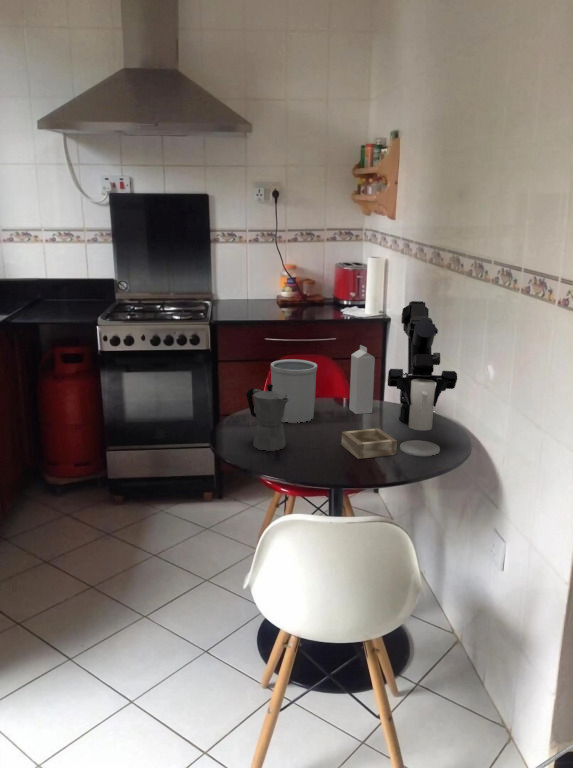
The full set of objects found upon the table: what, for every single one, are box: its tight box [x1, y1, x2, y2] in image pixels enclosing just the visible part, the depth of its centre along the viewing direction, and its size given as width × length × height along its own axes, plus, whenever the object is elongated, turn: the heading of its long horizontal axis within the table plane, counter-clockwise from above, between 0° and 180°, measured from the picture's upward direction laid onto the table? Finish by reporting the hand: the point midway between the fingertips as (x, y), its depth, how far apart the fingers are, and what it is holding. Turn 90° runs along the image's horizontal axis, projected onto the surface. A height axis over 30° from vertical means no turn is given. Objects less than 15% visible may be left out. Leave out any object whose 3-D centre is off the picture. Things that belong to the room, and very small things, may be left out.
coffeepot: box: [245, 383, 289, 452], centre depth 188 cm, size 15×9×18 cm, turn 49°
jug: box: [408, 379, 436, 431], centre depth 183 cm, size 9×6×13 cm
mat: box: [399, 439, 441, 457], centre depth 188 cm, size 11×11×1 cm
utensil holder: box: [270, 358, 318, 424], centre depth 214 cm, size 15×15×18 cm
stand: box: [340, 427, 398, 460], centre depth 187 cm, size 11×11×4 cm
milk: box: [348, 344, 376, 415], centre depth 221 cm, size 6×6×22 cm
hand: (422, 405), depth 183 cm, fingers closed on jug, 6 cm apart
